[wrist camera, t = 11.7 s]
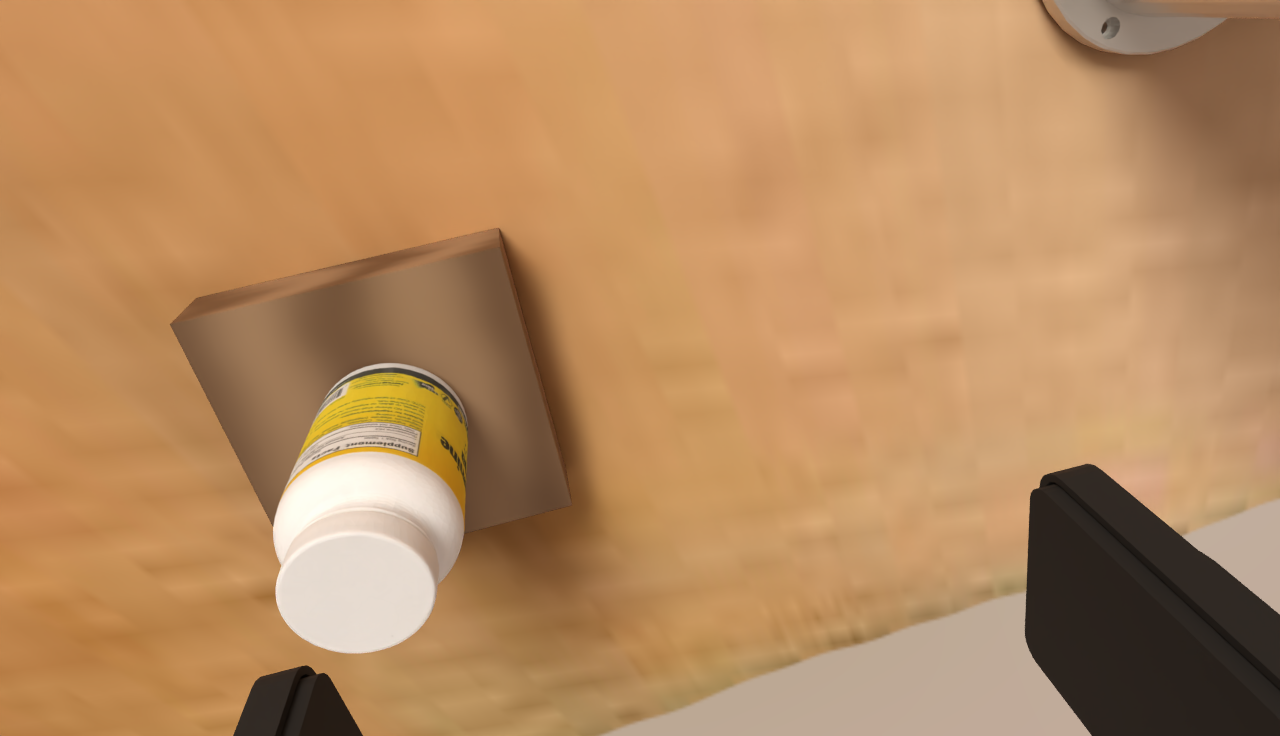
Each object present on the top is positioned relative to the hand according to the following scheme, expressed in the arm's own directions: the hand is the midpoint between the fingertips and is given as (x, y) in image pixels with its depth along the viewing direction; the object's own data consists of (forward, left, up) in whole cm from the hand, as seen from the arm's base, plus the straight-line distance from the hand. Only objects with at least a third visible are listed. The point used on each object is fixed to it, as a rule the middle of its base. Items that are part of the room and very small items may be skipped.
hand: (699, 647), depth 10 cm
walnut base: (+9, +7, -26) cm, 28 cm away
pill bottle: (+9, +7, -23) cm, 26 cm away
